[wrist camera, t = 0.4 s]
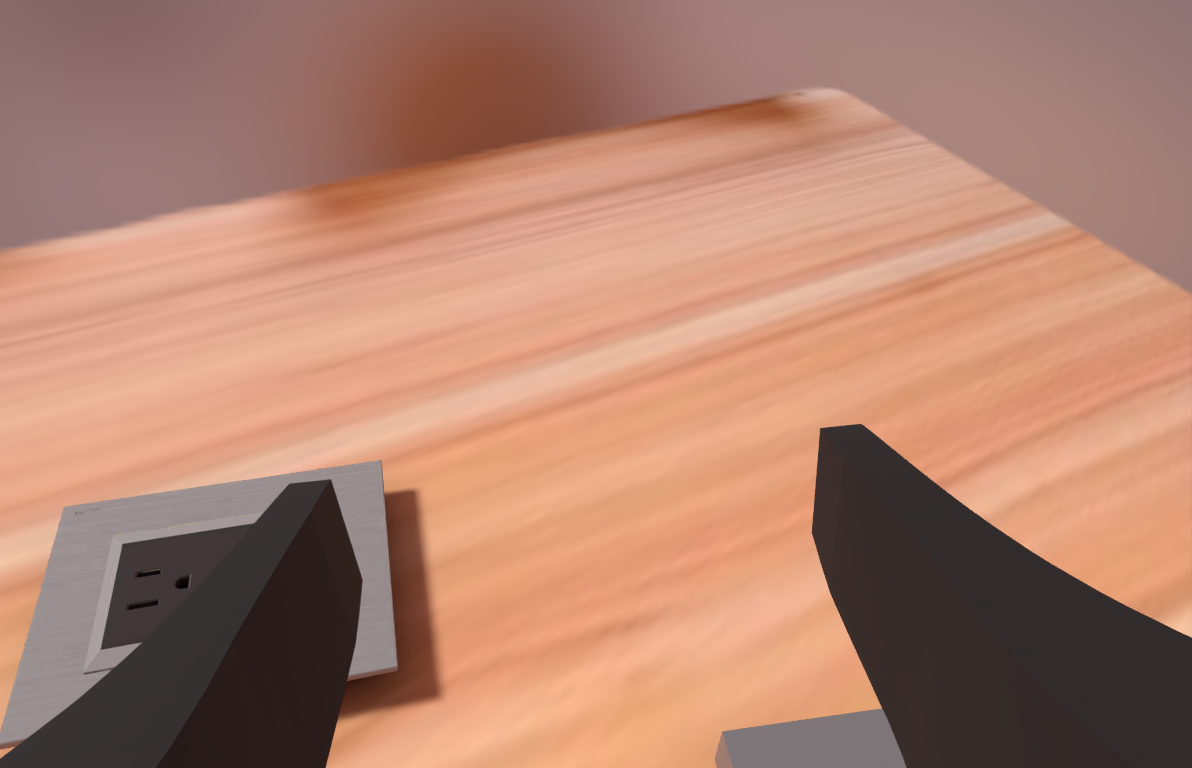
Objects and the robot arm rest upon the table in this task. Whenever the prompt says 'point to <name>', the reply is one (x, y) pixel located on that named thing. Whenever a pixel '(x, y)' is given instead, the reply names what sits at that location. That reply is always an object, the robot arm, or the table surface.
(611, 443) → the table surface
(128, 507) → the electrical outlet
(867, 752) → the light bulb socket board
